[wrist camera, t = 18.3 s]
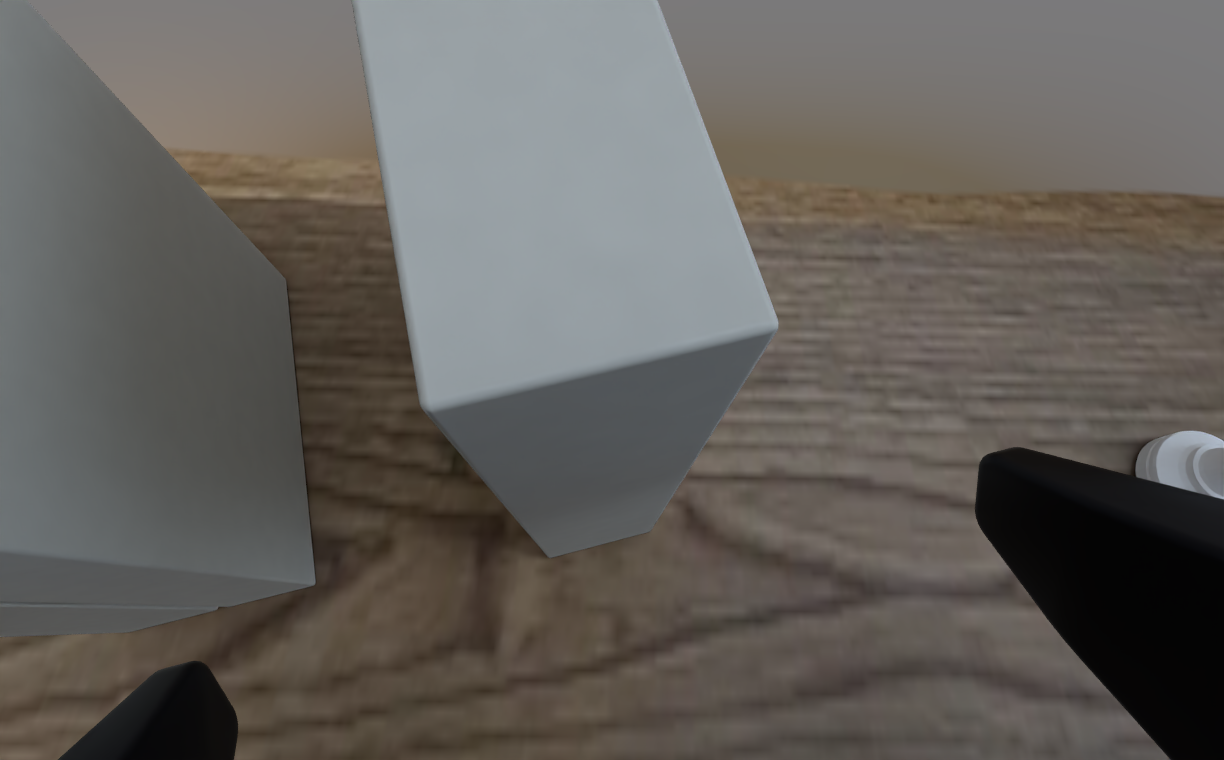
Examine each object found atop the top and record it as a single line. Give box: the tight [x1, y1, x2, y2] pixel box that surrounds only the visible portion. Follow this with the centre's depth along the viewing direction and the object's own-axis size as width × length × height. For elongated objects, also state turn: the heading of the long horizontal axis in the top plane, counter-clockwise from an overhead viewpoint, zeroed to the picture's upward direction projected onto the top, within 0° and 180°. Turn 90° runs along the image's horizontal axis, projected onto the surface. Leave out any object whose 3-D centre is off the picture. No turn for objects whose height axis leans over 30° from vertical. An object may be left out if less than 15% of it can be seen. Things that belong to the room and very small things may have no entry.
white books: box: [0, 0, 316, 637], centre depth 12 cm, size 9×5×13 cm, turn 14°
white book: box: [352, 0, 778, 558], centre depth 12 cm, size 9×3×13 cm, turn 15°
